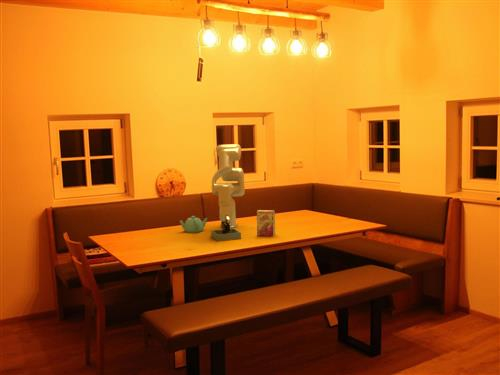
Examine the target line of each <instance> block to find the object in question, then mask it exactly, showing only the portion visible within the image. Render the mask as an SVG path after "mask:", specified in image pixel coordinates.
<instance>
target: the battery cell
mask: <svg viewBox="0 0 500 375" xmlns="http://www.w3.org/2000/svg"><path fill="white" fill-rule="evenodd" d="M221 230H222V234H228V233H229V231H225V223H224V224H222V229H221Z"/></svg>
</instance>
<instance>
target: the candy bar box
mask: <svg viewBox="0 0 500 375" xmlns="http://www.w3.org/2000/svg"><path fill="white" fill-rule="evenodd" d="M275 212H276V211H275V210H267V209H266V210H265V209H259V210H258V209H257V210H256V231H257V232H256V235H257V236H261V237H263V236H264V237H274V236H275V235H276V216H275V215H276V214H275Z"/></svg>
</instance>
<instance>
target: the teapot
mask: <svg viewBox="0 0 500 375" xmlns="http://www.w3.org/2000/svg"><path fill="white" fill-rule="evenodd" d="M207 221H208V217H205V218H204V219H203V220H201V219H200V218H199V217H196V216H195V215H191V217H188V218H187V219H186V220H185V222H184V221H183V220H182V219H181V220H179V223H180V226H181V227H182V229H183V230H184V232H186V233H188V234H196V233H202V232H203V231H204V229H205V228H206V227H205V226H206V225H207Z"/></svg>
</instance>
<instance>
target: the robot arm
mask: <svg viewBox="0 0 500 375" xmlns="http://www.w3.org/2000/svg"><path fill="white" fill-rule="evenodd" d="M215 151H216V154H217V156H218V169H217V171H216V172H215V173H214V174H213V176H212V179H211V192H212V194H213V195H216V196H218V207H219V220H220V223H221V224H220V228H221V229H220V230H222V224H224V223H225V231H230V229H233V228H238V227H239V224H238V223H237V221H236V220H237V219H236V218H237V217H236V215H237V214H236V202H235V199H233V198H232V197H243V196H244V195H245V191H246V190H245V174H244V173H245V172H244V170H243V168H242V167H234V162H235V161H236V162H238V161H240V159H241V156H242V148H241V145H240V144H238V143H237V144H236V143H235V144H234V143H231V144H230V143H229V144H228V143H227V144H219V145H217V146H216V148H215ZM220 178H221V180H222V181H224V182H225V183H224V182H222V183H221V182H219V183H217V180H219V179H220Z"/></svg>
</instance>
